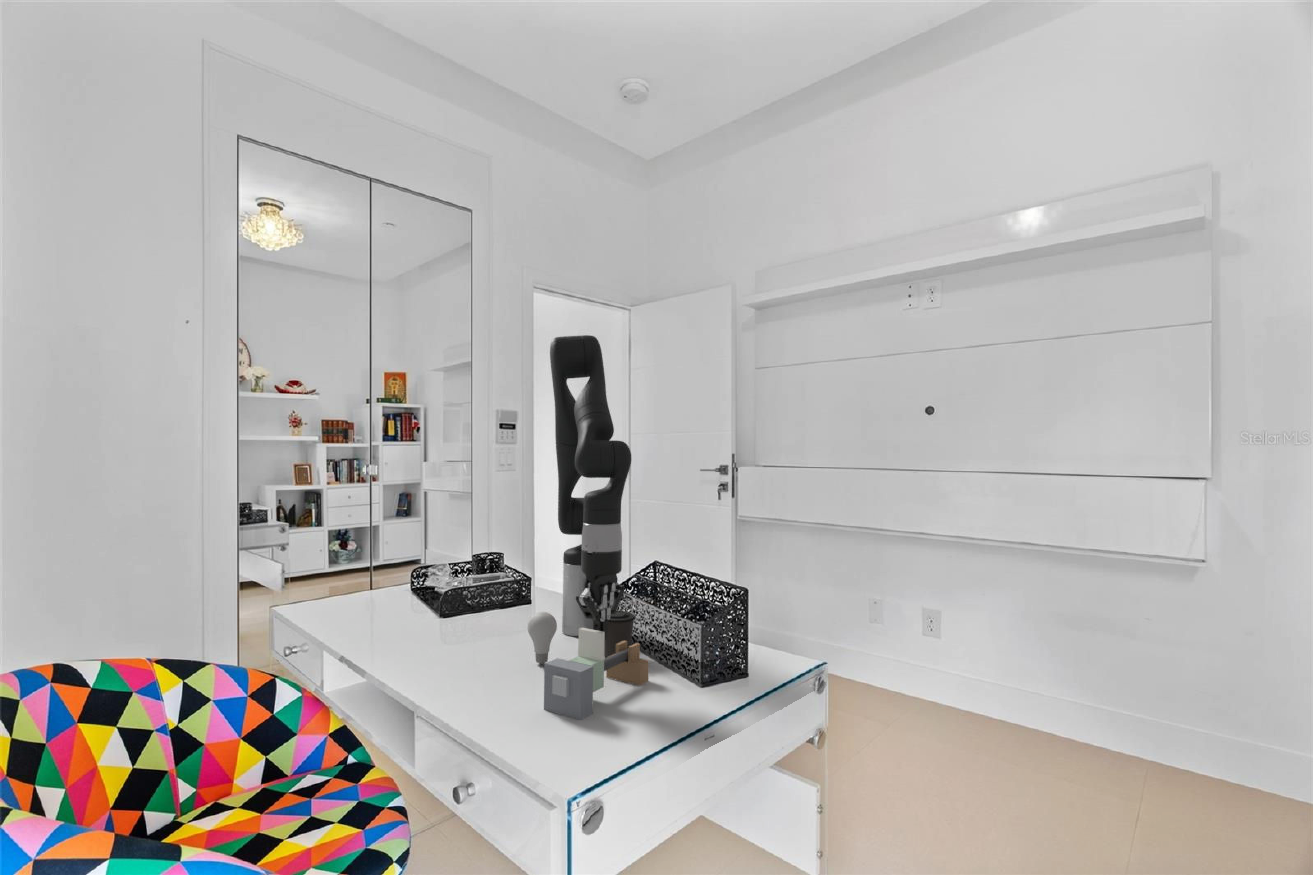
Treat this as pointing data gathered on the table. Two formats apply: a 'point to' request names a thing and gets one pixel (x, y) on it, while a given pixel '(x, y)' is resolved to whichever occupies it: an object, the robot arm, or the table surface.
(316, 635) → the table surface
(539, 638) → the lightbulb
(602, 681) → the white-faced green block
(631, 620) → the coffee cup
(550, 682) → the rod rig
